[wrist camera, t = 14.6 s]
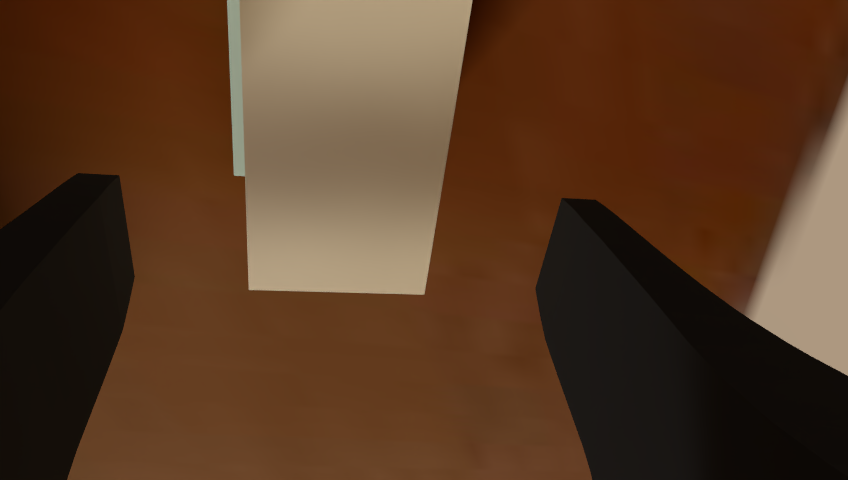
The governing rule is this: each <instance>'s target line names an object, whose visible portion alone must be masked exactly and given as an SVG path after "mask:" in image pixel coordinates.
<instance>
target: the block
mask: <svg viewBox="0 0 848 480" xmlns="http://www.w3.org/2000/svg"><path fill="white" fill-rule="evenodd" d="M472 1H473V0H239V4H240V34H241V65H242V96H243V126H244V157H245V187H246V218H247V248H248V279H249V290H275V291H312V292H350V293H387V294H424V293H425V287H426V281H427V275H428V269H429V263H430V257H431V251H432V245H433V239H434V232H435V226H436V220H437V214H438V208H439V202H440V196H441V190H442V184H443V178H444V171H445V165H446V159H447V153H448V147H449V141H450V135H451V129H452V123H453V117H454V111H455V104H456V98H457V92H458V86H459V80H460V74H461V68H462V62H463V56H464V50H465V44H466V37H467V31H468V25H469V19H470V13H471V7H472Z"/></svg>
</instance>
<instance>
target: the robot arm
mask: <svg viewBox="0 0 848 480" xmlns="http://www.w3.org/2000/svg"><path fill="white" fill-rule="evenodd" d="M134 277H135V276H134V270H133V263H132V256H131V250H130V243H129V237H128V230H127V223H126V217H125V210H124V204H123V197H122V190H121V184H120V177H119V175H101V174H82V173H78V174H76V175H74V176H73V177H71V178H70V179H68V180H67V181H66V182H64V183H63V184H61V185H60V186H59V187H57V188H56V189H55V190H53V191H52V192H51V193H49V194H48V195H47V196H45V197H44V198H43V199H41V200H40V201H39V202H37V203H36V204H35V205H33V206H32V207H31V208H29V209H28V210H27V211H25V212H24V213H22V214H21V215H20V216H18V217H17V218H16V219H14V220H13V221H11V222H10V223H9V224H7V225H6V226H4V227H3V228H2V229H0V480H67V478H68V475H69V472H70V469H71V466H72V463H73V460H74V457H75V454H76V451H77V448H78V445H79V443H80V440H81V438H82V435H83V433H84V430H85V427H86V425H87V422H88V420H89V417H90V414H91V412H92V409H93V407H94V404H95V402H96V399H97V396H98V394H99V391H100V389H101V386H102V384H103V381H104V378H105V376H106V373H107V371H108V368H109V365H110V363H111V360H112V357H113V355H114V352H115V349H116V347H117V344H118V341H119V339H120V336H121V333H122V330H123V326H124V322H125V318H126V314H127V310H128V305H129V301H130V296H131V291H132V287H133V282H134ZM536 295H537V300H538V306H539V311H540V317H541V321H542V326H543V331H544V336H545V340H546V343H547V346H548V349H549V352H550V355H551V357H552V360H553V363H554V366H555V369H556V372H557V375H558V378H559V381H560V383H561V386H562V389H563V392H564V395H565V397H566V400H567V403H568V406H569V409H570V411H571V414H572V417H573V420H574V423H575V425H576V428H577V431H578V434H579V437H580V440H581V442H582V445H583V448H584V452H585V455H586V458H587V461H588V465H589V468H590V471H591V475H592V480H848V376H847V375H845V374H843V373H841V372H840V371H838V370H836V369H834V368H832V367H830V366H828V365H826V364H824V363H822V362H821V361H819V360H817V359H815V358H813V357H811V356H809V355H808V354H806V353H804V352H803V351H801V350H799V349H797V348H796V347H794V346H792V345H790V344H789V343H787V342H785V341H784V340H782V339H780V338H779V337H778V336H776V335H774V334H773V333H771V332H769V331H768V330H766V329H765V328H763V327H762V326H760V325H758V324H757V323H755V322H754V321H752V320H750V319H749V318H747V317H746V316H745V315H743V314H742V313H740V312H739V311H737V310H736V309H734V308H733V307H731V306H730V305H729V304H727V303H726V302H725V301H723V300H722V299H720V298H719V297H718V296H716V295H715V294H714V293H712V292H711V291H709V290H708V289H707V288H705V287H704V286H703V285H701V284H700V283H699V282H697V281H696V280H695V279H694V278H692V277H691V276H690V275H688V274H687V273H686V272H685V271H683V270H682V269H681V268H680V267H678V266H677V265H676V264H675V263H673V262H672V261H671V260H670V259H668V258H667V257H666V256H665V255H663V254H662V253H661V252H660V251H659V250H657V249H656V248H655V247H654V246H653V245H651V244H650V243H649V242H648V241H647V240H645V239H644V238H643V237H642V236H641V235H639V234H638V233H637V232H636V231H635V230H633V229H632V228H631V227H630V226H629V225H627V224H626V223H625V222H624V221H623V220H621V219H620V218H619V217H618V216H617V215H615V214H614V213H613V212H611V211H610V210H609V209H608V208H606V207H605V206H604V205H602V204H601V203H599V202H598V201H596V200H587V199H568V198H562V199H561V203H560V206H559V210H558V213H557V216H556V220H555V223H554V227H553V230H552V234H551V237H550V241H549V244H548V247H547V251H546V254H545V258H544V261H543V265H542V268H541V272H540V275H539V278H538V282H537V285H536Z"/></svg>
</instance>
